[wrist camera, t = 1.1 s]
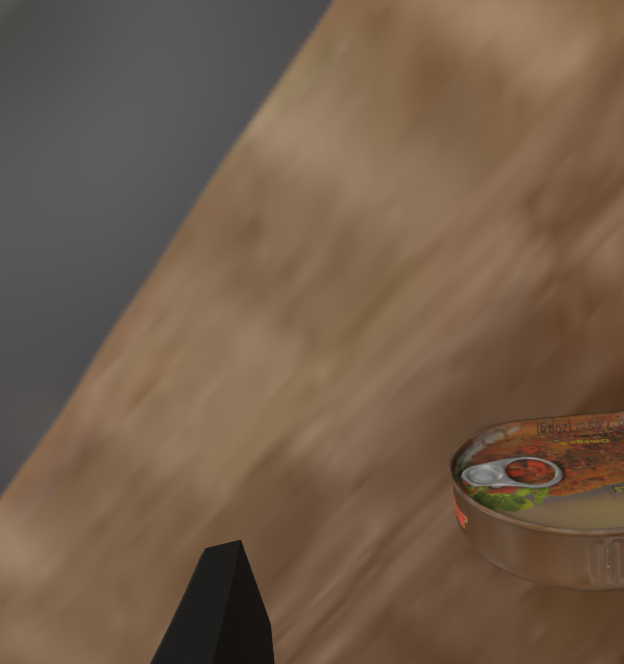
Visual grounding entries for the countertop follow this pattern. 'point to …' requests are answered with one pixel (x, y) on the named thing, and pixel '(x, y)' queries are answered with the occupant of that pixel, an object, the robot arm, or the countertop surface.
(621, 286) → the countertop surface
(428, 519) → the countertop surface
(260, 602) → the robot arm
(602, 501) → the tin
